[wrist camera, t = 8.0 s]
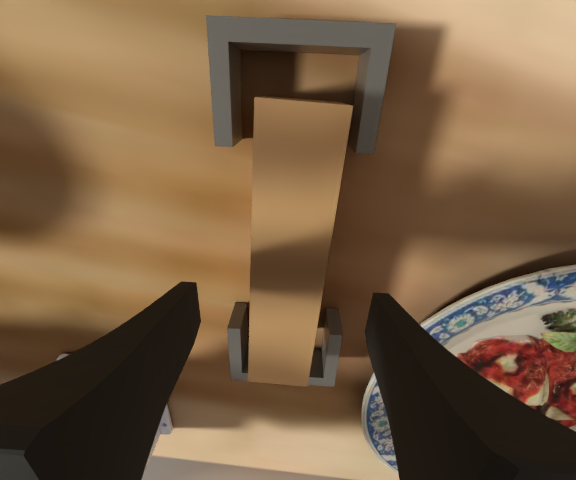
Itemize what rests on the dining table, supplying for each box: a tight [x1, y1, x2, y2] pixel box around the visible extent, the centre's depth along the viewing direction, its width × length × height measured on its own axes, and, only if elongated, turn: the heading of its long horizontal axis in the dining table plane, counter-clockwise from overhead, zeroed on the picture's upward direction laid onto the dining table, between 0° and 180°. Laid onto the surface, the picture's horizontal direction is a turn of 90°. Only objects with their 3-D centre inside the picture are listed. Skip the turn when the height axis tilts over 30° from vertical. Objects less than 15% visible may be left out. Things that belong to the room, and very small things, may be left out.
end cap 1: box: [206, 15, 396, 154], centre depth 13 cm, size 5×7×2 cm, turn 88°
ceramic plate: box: [361, 265, 576, 475], centre depth 22 cm, size 26×26×3 cm
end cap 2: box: [227, 303, 343, 387], centre depth 20 cm, size 5×7×2 cm, turn 88°
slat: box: [248, 96, 353, 387], centre depth 16 cm, size 15×4×5 cm, turn 176°
